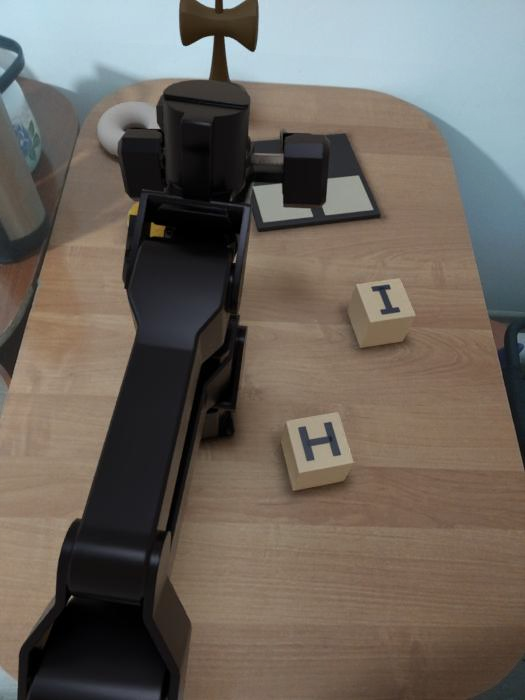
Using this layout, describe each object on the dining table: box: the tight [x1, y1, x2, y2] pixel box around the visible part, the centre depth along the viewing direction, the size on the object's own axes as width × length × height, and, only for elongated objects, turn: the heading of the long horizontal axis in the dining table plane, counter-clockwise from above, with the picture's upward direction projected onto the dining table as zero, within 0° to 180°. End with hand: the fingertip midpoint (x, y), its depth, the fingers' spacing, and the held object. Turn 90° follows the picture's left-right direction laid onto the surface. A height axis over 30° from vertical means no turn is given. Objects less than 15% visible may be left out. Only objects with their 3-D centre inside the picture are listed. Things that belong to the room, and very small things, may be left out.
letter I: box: [346, 277, 417, 349], centre depth 60 cm, size 5×5×5 cm
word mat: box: [250, 133, 382, 232], centre depth 74 cm, size 16×16×1 cm
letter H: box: [280, 411, 355, 492], centre depth 52 cm, size 5×5×5 cm
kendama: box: [178, 0, 260, 82], centre depth 71 cm, size 6×10×20 cm, turn 90°
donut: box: [96, 101, 160, 158], centre depth 75 cm, size 10×4×10 cm
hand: (237, 132), depth 57 cm, fingers open, 9 cm apart
